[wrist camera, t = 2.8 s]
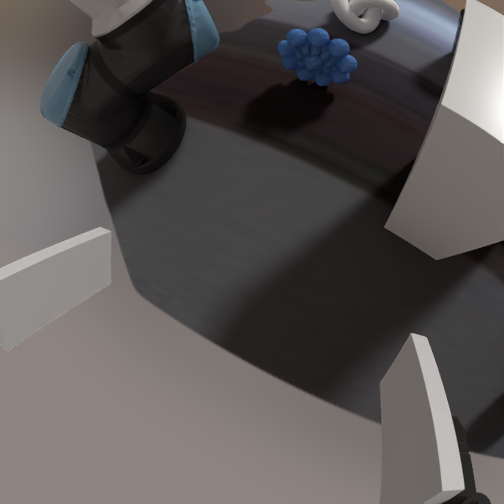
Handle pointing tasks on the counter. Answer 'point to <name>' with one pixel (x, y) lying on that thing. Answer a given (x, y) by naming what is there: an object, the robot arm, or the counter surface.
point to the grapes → (317, 56)
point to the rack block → (461, 150)
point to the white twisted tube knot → (374, 7)
